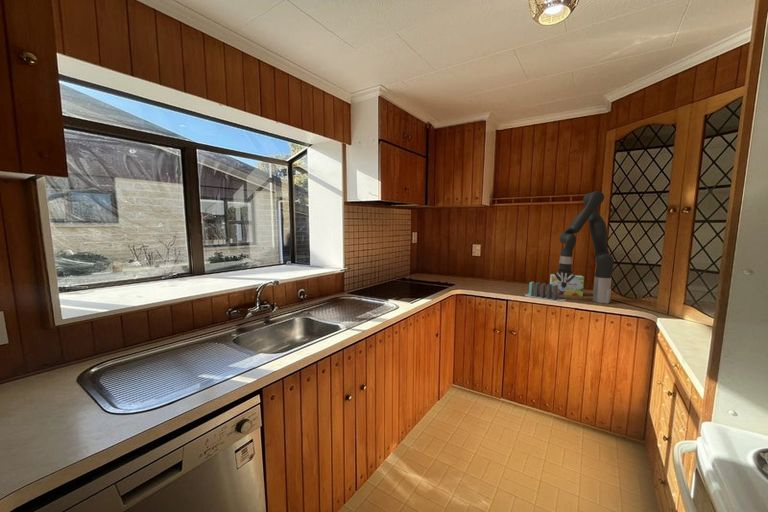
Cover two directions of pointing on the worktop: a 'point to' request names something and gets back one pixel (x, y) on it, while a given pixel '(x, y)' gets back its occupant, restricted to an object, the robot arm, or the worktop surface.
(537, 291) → the domino
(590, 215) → the robot arm
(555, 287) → the domino
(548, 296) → the domino
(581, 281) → the snack box
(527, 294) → the mat
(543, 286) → the domino
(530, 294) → the domino
